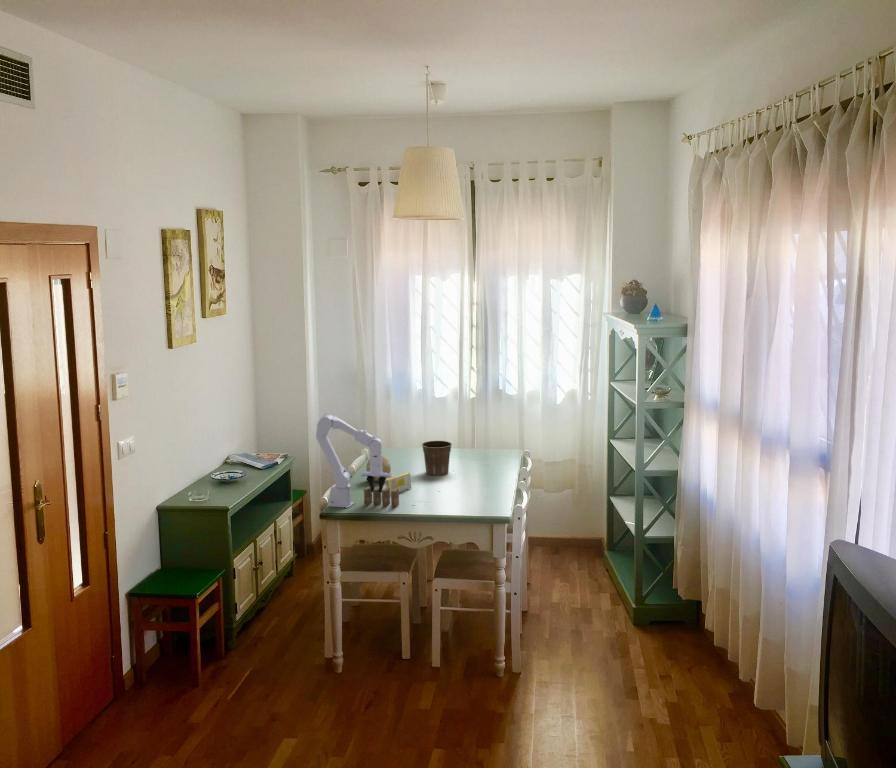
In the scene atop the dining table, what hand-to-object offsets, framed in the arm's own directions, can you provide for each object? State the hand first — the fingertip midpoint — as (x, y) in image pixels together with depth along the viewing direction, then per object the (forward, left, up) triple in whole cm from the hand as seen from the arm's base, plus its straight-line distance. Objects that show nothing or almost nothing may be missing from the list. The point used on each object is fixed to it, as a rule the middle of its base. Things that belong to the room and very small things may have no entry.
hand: (376, 491), depth 406 cm
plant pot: (+11, +64, -7) cm, 65 cm away
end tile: (-4, 0, -6) cm, 8 cm away
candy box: (+3, +24, -7) cm, 25 cm away
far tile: (+9, 0, -7) cm, 11 cm away
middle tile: (+5, 0, -6) cm, 8 cm away
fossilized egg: (-14, +41, -7) cm, 44 cm away
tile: (0, 0, -7) cm, 7 cm away
